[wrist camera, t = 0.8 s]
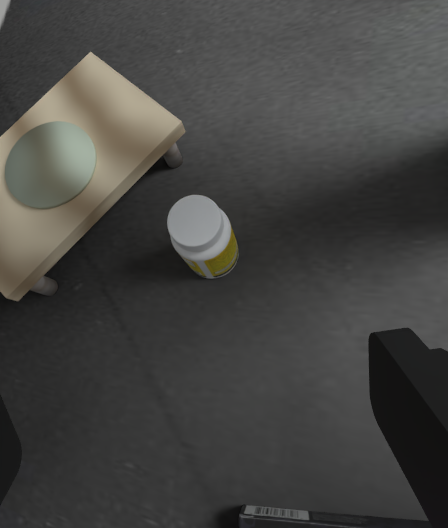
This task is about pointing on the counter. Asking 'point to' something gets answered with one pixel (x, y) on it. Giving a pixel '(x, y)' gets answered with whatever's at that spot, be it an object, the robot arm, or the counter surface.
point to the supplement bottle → (203, 236)
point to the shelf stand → (73, 167)
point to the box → (317, 519)
